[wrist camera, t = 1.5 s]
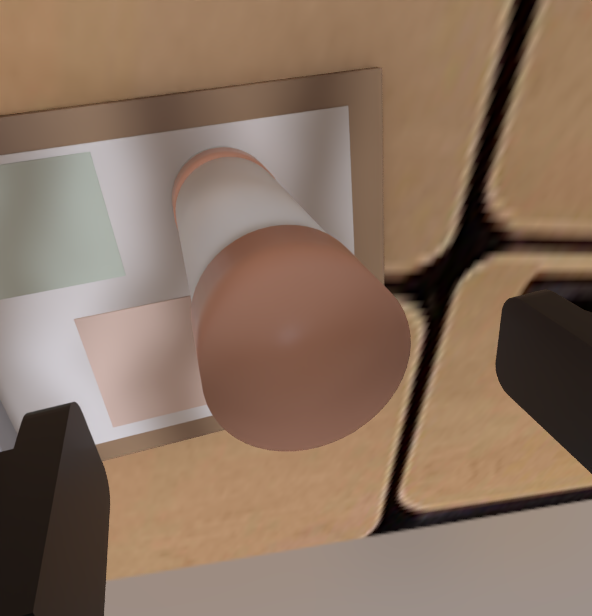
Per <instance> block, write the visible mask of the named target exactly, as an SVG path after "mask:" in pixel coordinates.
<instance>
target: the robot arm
mask: <svg viewBox="0 0 592 616" xmlns="http://www.w3.org/2000/svg"><path fill="white" fill-rule="evenodd" d="M496 373H497V377H498V380H499V382H500V384H501V386H502V388H503V389H504V391H505V392H506V393H507V394H508V395H509V396H510V397H511V398H512V399H513V400H514V401H515V402H516V403H517V404H518V405H519V406H520V407H521V408H522V409H524V410H525V411H526V412H527V413H528V414H529V415H530V416H531V417H532V418H533V419H534V420H535V421H536V422H537V423H538V424H539V425H541V426H542V427H543V428H544V429H545V430H546V431H547V432H548V433H549V434H550V435H551V436H552V437H553V438H554V439H555V440H556V441H558V442H559V443H560V444H561V445H562V446H563V447H564V448H565V449H566V450H567V451H568V452H569V453H570V454H571V455H572V456H573V457H574V458H576V459H577V460H578V461H579V462H580V463H581V464H582V465H583V466H584V467H585V468H586V469H587V470H588V471H589V472H590V473H591V474H592V313H591V312H588V311H585V310H583V309H581V308H580V307H578V306H576V305H574V304H573V303H571V302H569V301H568V300H566V299H564V298H563V297H561V296H559V295H558V294H556V293H554V292H552V291H550V290H542V291H538V292H533V293H529V294H525V295H521V296H517V297H513V298H509V299H508V300H507V301H506V302H505V303H504V305H503V308H502V314H501V323H500V331H499V339H498V347H497V356H496ZM109 514H110V493H109V485H108V480H107V475H106V472H105V468H104V466H103V463H102V460H101V458H100V455H99V453H98V450H97V448H96V445H95V443H94V440H93V438H92V435H91V433H90V430H89V428H88V425H87V423H86V420H85V418H84V415H83V413H82V410H81V408H80V406H79V405H78V404H77V403H76V402H70V403H66V404H62V405H58V406H54V407H50V408H45V409H41V410H37V411H33V412H29V413H26V414H25V415H24V417H23V419H22V422H21V425H20V428H19V432H18V435H17V438H16V442H15V445H14V448H13V449H10V450H6V451H2V452H0V616H104V603H105V585H106V567H107V549H108V531H109Z"/></svg>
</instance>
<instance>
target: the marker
mask: <svg viewBox="0 0 592 616" xmlns="http://www.w3.org/2000/svg"><path fill="white" fill-rule="evenodd" d="M172 206H173V212H174V218H175V223H176V226H177V229H178V232H179V237H180V242H181V248H182V253H183V258H184V264H185V269H186V274H187V280H188V285H189V290H190V296H191V301H192V305H191V324H192V331H193V337H194V342H195V348H196V354H197V360H198V366H199V372H200V377H201V383H202V389H203V394H204V397H205V400H206V403H207V406H208V408H209V410H210V412H211V414H212V415H213V417H214V418H215V419H216V421H217V422H218V423H219V424H220V425H221V426H222V427H223V428H224V429H225V430H226V431H227V432H228V433H230V434H231V435H232V436H234V437H235V438H237V439H239V440H241V441H243V442H245V443H247V444H249V445H252V446H255V447H258V448H262V449H267V450H274V451H299V450H307V449H312V448H316V447H320V446H323V445H326V444H330V443H332V442H335V441H337V440H339V439H341V438H344V437H345V436H347V435H349V434H351V433H353V432H354V431H356V430H357V429H359V428H360V427H362V426H363V425H365V424H366V423H367V422H368V421H370V420H371V419H372V418H373V417H374V416H375V415H376V414H377V413H378V412H379V411H380V410H381V409H382V408H383V407H384V406H385V405H386V404H387V402H388V401H389V400H390V399H391V397H392V396H393V394H394V393H395V391H396V390H397V388H398V386H399V384H400V382H401V380H402V378H403V376H404V373H405V370H406V368H407V364H408V360H409V356H410V345H411V341H410V330H409V325H408V321H407V318H406V316H405V313H404V311H403V309H402V307H401V305H400V304H399V302H398V301H397V299H396V298H395V297H394V296H393V295H392V293H391V292H390V291H389V290H388V289H387V288H386V287H385V286H384V285H383V284H382V283H381V282H380V281H379V280H378V279H377V278H376V277H375V276H374V275H373V274H372V273H371V272H370V271H369V270H368V269H367V268H366V267H365V266H364V265H363V264H362V263H361V262H360V261H359V260H358V259H357V258H356V257H355V256H354V255H353V254H352V253H351V252H350V251H349V250H348V249H347V248H346V247H345V246H344V245H343V244H342V243H341V242H340V241H338V240H337V239H335V238H334V237H332V236H331V235H329V234H327V233H326V232H325V231H324V230H323V229H322V228H321V227H320V226H319V225H318V224H317V223H316V222H315V221H314V220H313V219H312V218H311V216H310V215H309V214H308V213H307V212H306V211H305V210H304V209H303V208H302V207H301V206H300V205H299V204H298V203H297V202H296V201H295V200H294V199H293V198H292V197H291V196H290V195H289V194H288V192H287V191H286V190H285V189H284V188H283V187H282V186H281V185H280V184H279V183H278V182H277V181H276V179H275V178H274V176H273V175H272V174H271V173H270V172H269V171H268V170H267V169H266V168H265V167H264V166H263V165H262V163H261V162H259V161H258V160H257V159H256V158H255V157H253V156H252V155H250V154H248V153H246V152H244V151H242V150H239V149H236V148H231V147H213V148H209V149H206V150H203V151H201V152H199V153H197V154H195V155H194V156H193V157H191V158H190V159H189V160H188V161H187V162H186V163H185V164H184V165H183V166H182V168H181V169H180V171H179V173H178V175H177V177H176V179H175V182H174V186H173V190H172Z"/></svg>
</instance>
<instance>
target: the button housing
mask: <svg viewBox="0 0 592 616" xmlns="http://www.w3.org/2000/svg"><path fill="white" fill-rule="evenodd" d="M17 435H18V434H17V432H16V430H15V428H14V426H13V424H12V422H11V420H10V418H9V416H8V414H7V412H6V410H5V408H4V406H3V404H2V402H1V400H0V452H2V451H6V450H10V449H13V448H14V445H15V442H16V438H17Z"/></svg>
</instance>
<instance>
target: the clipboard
mask: <svg viewBox="0 0 592 616" xmlns="http://www.w3.org/2000/svg"><path fill="white" fill-rule="evenodd" d="M213 147H231V148H236V149H239V150H242V151H244V152H246V153H248V154H250V155H252V156H253V157H255V158H256V159H257V160H258V161H259V162H261V163H262V165H263V166H264V167H265V168H266V169H267V170H268V171H269V172H270V173H271V174H272V175H273V176H274V178H275V179H276V181H277V182H278V183H279V184H280V185H281V186H282V187H283V188H284V189H285V190H286V191H287V192H288V194H289V195H290V196H291V197H292V198H293V199H294V200H295V201H296V202H297V203H298V204H299V205H300V206H301V207H302V208H303V209H304V210H305V211H306V212H307V213H308V214H309V215H310V216H311V218H312V219H313V220H314V221H315V222H316V223H317V224H318V225H319V226H320V227H321V228H322V229H323V230H324V231H325V232H326V233H327V234H329V235H331V236H332V237H334V238H335V239H337V240H338V241H340V242H341V243H342V244H343V245H344V246H345V247H346V248H347V249H348V250H349V251H350V252H351V253H352V254H353V255H354V256H355V257H356V258H357V259H358V260H359V261H360V262H361V263H362V264H363V265H364V266H365V267H366V268H367V269H368V270H369V271H370V272H371V273H372V274H373V275H374V276H375V277H376V278H377V279H378V280H379V281H380V282H381V283H382V284H383V285H384V215H383V112H382V68H378V67H374V68H366V69H359V70H351V71H343V72H335V73H328V74H320V75H312V76H305V77H297V78H289V79H281V80H274V81H266V82H258V83H250V84H243V85H235V86H227V87H220V88H212V89H204V90H196V91H189V92H181V93H173V94H166V95H158V96H150V97H142V98H135V99H127V100H119V101H112V102H104V103H96V104H88V105H81V106H73V107H65V108H58V109H50V110H42V111H34V112H27V113H19V114H11V115H4V116H0V400H1V402H2V404H3V406H4V408H5V410H6V412H7V414H8V416H9V418H10V420H11V422H12V424H13V426H14V428H15V430H16V432H17V434H18V432H19V428H20V425H21V422H22V419H23V417H24V415H25V414H26V413H29V412H33V411H37V410H41V409H45V408H50V407H54V406H58V405H62V404H66V403H70V402H76V403H77V404H78V405H79V406H80V408H81V410H82V413H83V415H84V418H85V420H86V423H87V425H88V428H89V430H90V433H91V435H92V438H93V440H94V443H95V445H96V448H97V450H98V453H99V455H100V458H101V460H102V461H105V460H109V459H113V458H117V457H121V456H124V455H128V454H132V453H136V452H140V451H144V450H148V449H152V448H156V447H160V446H164V445H167V444H171V443H175V442H179V441H183V440H187V439H191V438H195V437H199V436H203V435H206V434H210V433H214V432H218V431H222V430H225V429H224V428H223V427H222V426H221V425H220V424H219V423H218V422H217V421H216V419H215V418H214V417H213V415H212V414H211V412H210V410H209V408H208V406H207V403H206V400H205V397H204V394H203V389H202V383H201V377H200V372H199V366H198V360H197V354H196V348H195V342H194V337H193V331H192V324H191V305H192V301H191V296H190V290H189V285H188V280H187V274H186V269H185V264H184V258H183V253H182V248H181V242H180V237H179V232H178V229H177V226H176V223H175V218H174V212H173V206H172V190H173V186H174V182H175V179H176V177H177V175H178V173H179V171H180V169H181V168H182V166H183V165H184V164H185V163H186V162H187V161H188V160H189V159H190V158H191V157H193V156H194V155H195V154H197V153H199V152H201V151H203V150H206V149H209V148H213Z"/></svg>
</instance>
